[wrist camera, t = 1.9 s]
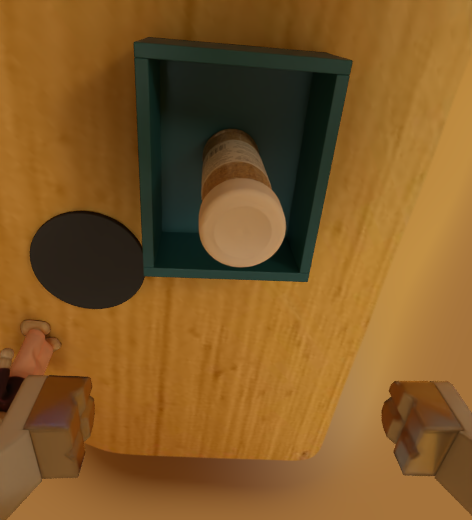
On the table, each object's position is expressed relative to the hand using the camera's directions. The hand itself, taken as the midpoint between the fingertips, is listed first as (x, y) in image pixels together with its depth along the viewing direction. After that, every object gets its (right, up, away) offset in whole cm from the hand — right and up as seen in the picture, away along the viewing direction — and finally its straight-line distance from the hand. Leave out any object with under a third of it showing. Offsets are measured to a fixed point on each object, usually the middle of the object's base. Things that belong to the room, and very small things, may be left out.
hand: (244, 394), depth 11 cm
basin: (-1, +12, +21) cm, 25 cm away
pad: (-13, +3, +26) cm, 29 cm away
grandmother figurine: (-20, -4, +30) cm, 36 cm away
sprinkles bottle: (-1, +12, +21) cm, 25 cm away
